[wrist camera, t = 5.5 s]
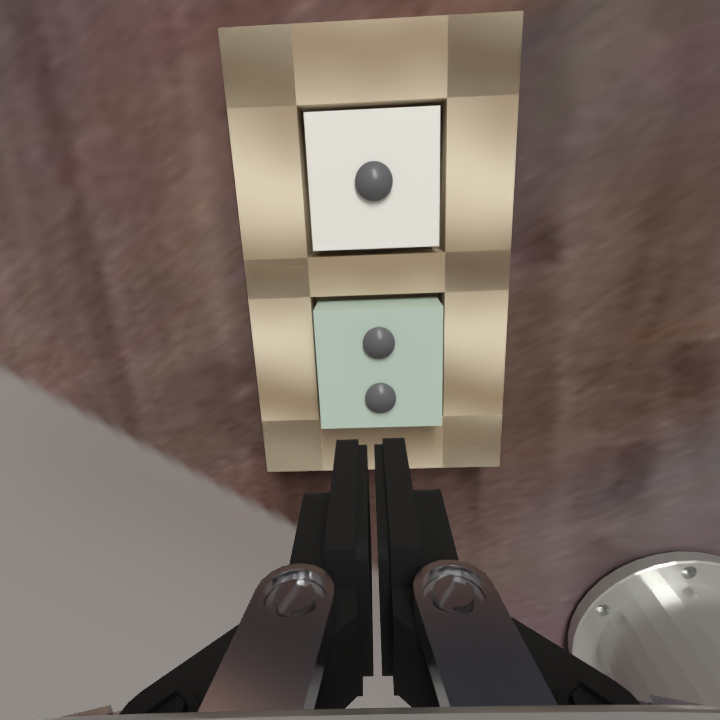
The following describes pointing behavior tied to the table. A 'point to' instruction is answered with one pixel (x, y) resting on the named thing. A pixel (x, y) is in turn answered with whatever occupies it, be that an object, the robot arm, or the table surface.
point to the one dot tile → (374, 177)
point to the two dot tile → (379, 362)
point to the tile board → (383, 265)
